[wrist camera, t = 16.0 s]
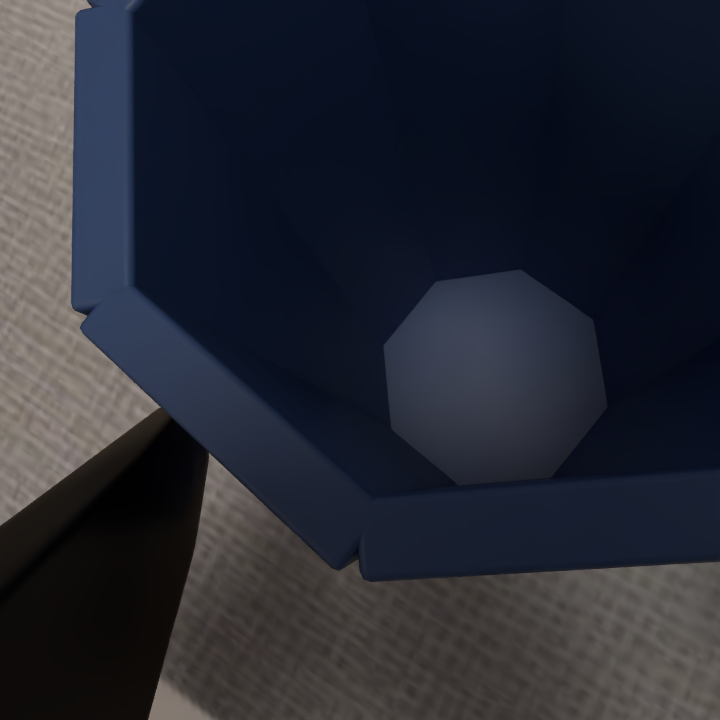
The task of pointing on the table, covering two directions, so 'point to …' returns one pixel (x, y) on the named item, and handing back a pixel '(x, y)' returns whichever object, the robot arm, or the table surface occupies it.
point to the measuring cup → (419, 266)
